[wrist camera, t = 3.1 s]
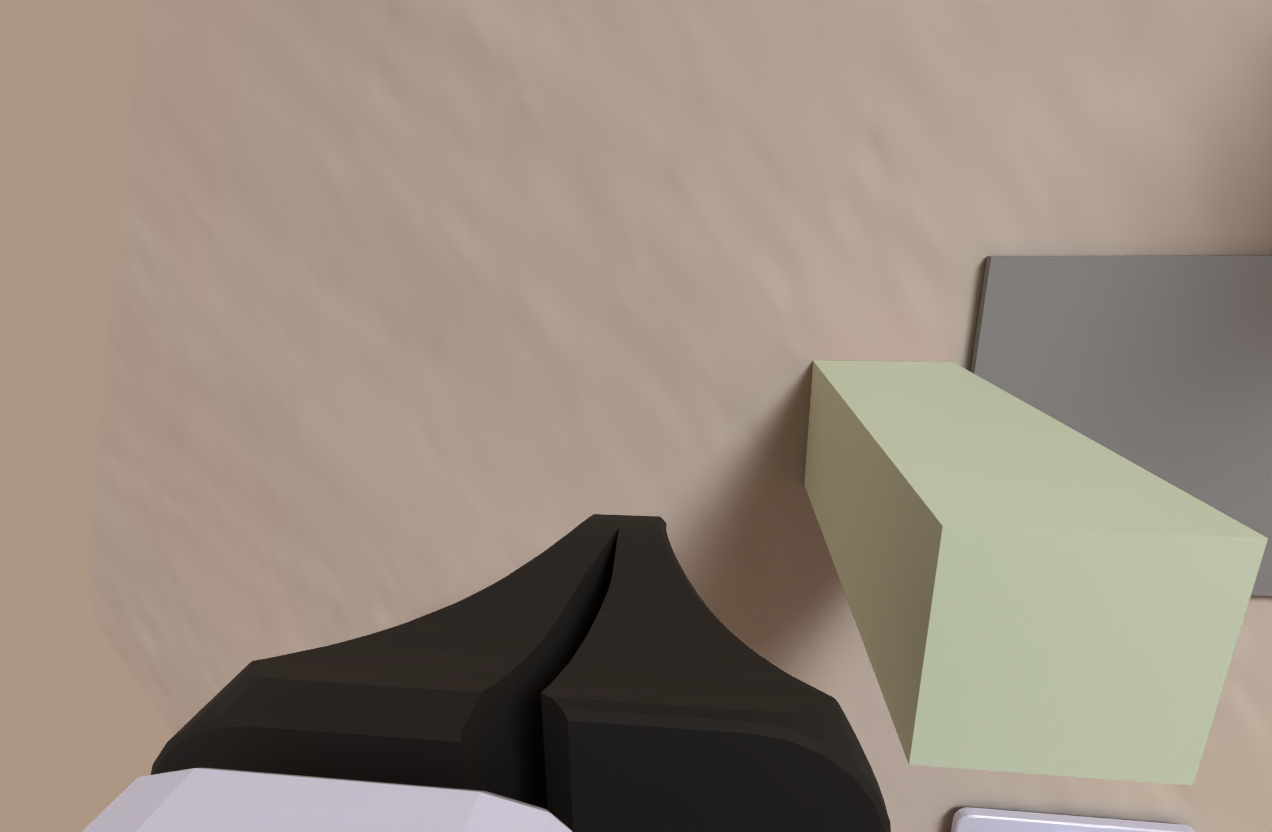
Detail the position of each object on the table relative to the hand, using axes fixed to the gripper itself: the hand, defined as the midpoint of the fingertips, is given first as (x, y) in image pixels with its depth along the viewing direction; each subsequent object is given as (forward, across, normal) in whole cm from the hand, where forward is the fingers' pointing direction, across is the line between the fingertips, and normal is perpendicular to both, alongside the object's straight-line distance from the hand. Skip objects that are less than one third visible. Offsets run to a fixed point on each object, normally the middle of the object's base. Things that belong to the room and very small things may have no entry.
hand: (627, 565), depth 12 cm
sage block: (+9, -6, 0) cm, 11 cm away
